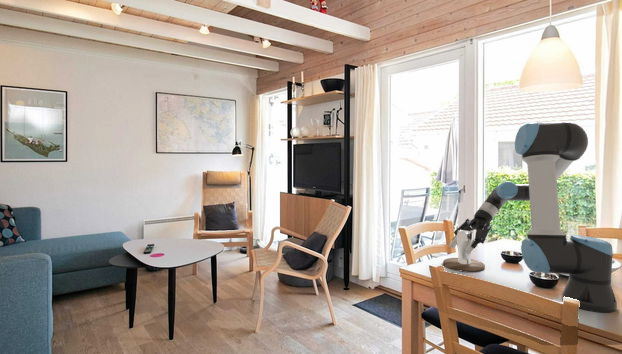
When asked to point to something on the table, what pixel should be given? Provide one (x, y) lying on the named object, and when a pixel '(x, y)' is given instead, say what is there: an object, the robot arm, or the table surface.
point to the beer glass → (464, 246)
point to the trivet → (454, 265)
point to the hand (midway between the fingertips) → (458, 249)
